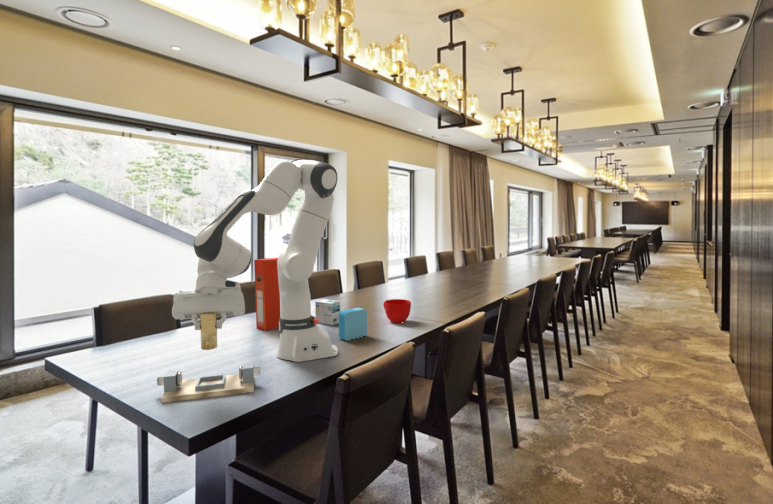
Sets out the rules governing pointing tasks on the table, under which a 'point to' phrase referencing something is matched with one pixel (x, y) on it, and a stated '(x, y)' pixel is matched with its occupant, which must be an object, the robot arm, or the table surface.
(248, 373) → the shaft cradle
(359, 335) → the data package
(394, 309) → the ceramic cup
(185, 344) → the table surface
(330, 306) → the light bulb box
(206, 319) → the cylinder
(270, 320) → the file binder
